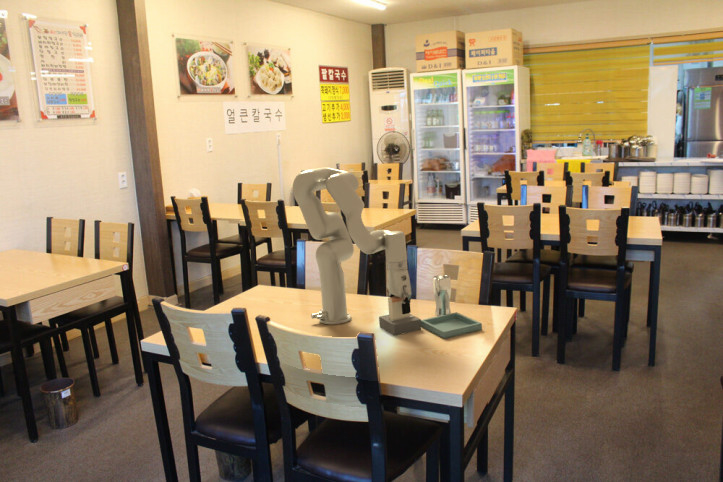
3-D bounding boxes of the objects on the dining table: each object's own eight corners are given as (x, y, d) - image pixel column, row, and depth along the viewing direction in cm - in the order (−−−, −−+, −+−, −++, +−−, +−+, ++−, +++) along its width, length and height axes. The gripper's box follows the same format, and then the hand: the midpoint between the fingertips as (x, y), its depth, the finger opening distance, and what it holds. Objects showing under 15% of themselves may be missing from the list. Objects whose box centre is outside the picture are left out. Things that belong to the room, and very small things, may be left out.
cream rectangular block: (393, 325, 222) (391, 299, 220) (389, 323, 225) (388, 297, 223) (410, 322, 225) (408, 296, 223) (406, 320, 228) (404, 294, 226)
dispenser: (394, 335, 218) (394, 323, 217) (379, 326, 229) (378, 315, 228) (421, 329, 222) (420, 317, 221) (405, 321, 233) (404, 309, 232)
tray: (444, 338, 211) (443, 332, 211) (420, 326, 226) (420, 320, 225) (481, 329, 218) (481, 323, 217) (456, 318, 232) (456, 312, 232)
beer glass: (451, 316, 235) (449, 278, 232) (433, 316, 236) (431, 279, 233) (452, 311, 241) (451, 274, 239) (434, 311, 243) (433, 274, 240)
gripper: (417, 267, 215) (420, 313, 218) (394, 259, 230) (397, 303, 233) (399, 270, 212) (402, 318, 215) (376, 263, 227) (380, 307, 230)
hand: (399, 310), depth 224 cm, fingers open, 9 cm apart
